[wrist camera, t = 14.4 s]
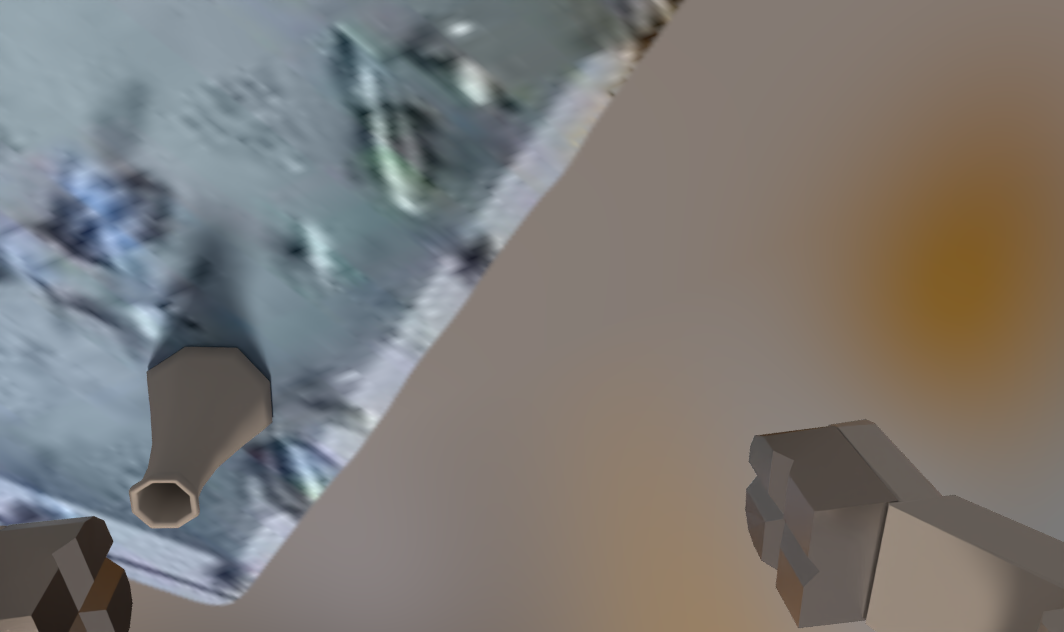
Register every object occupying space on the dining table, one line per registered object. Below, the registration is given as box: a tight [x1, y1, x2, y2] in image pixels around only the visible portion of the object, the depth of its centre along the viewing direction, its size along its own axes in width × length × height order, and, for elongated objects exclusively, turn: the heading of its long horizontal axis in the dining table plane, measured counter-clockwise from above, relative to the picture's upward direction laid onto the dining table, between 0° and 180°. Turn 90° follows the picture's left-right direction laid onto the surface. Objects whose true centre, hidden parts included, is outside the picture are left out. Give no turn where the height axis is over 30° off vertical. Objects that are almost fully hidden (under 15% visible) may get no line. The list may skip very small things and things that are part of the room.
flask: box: [129, 347, 272, 528], centre depth 43 cm, size 7×7×10 cm
